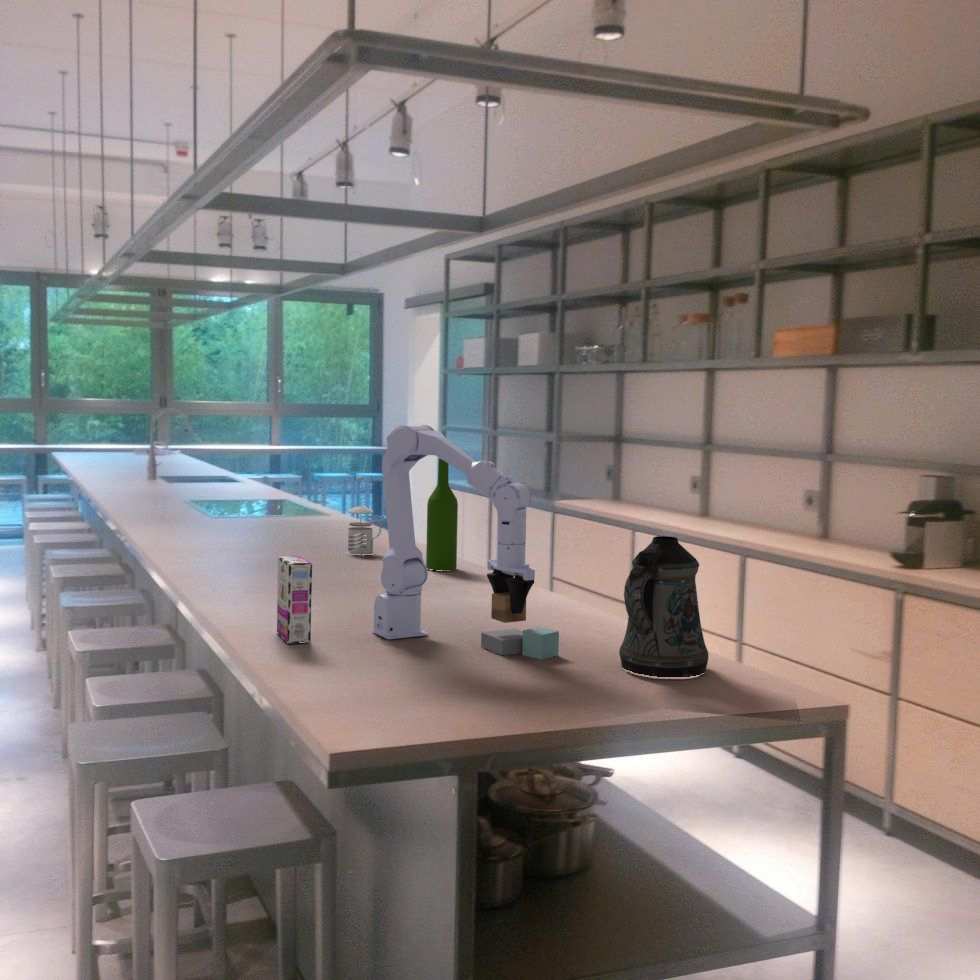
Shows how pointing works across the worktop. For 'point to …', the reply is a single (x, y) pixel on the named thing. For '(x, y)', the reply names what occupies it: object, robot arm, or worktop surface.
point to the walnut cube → (505, 609)
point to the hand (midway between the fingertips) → (509, 610)
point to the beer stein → (663, 613)
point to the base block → (503, 641)
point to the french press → (361, 531)
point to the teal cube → (540, 643)
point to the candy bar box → (294, 599)
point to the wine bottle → (442, 524)
